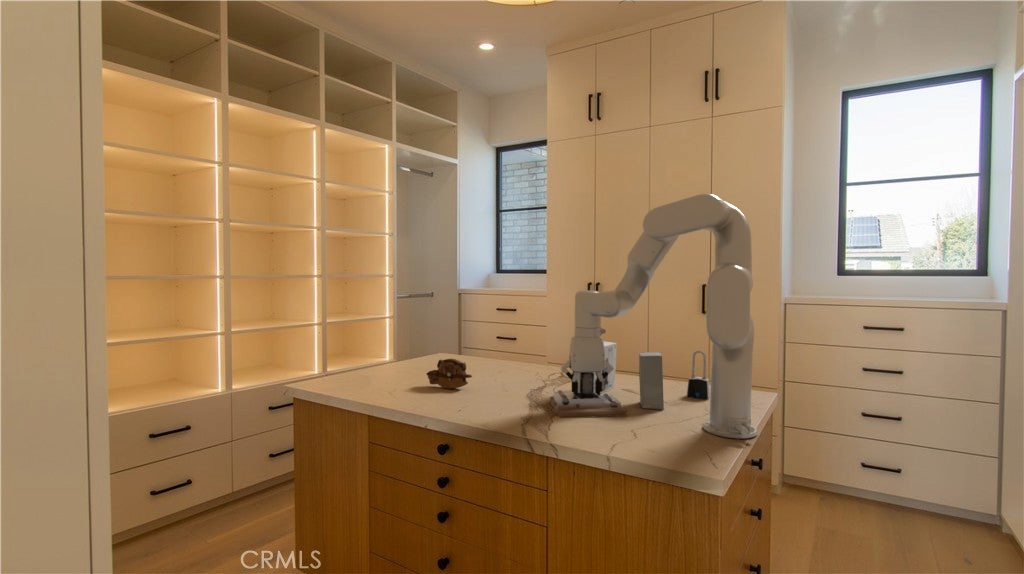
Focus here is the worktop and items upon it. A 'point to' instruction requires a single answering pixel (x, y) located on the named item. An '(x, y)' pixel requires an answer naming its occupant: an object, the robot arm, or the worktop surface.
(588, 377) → the pin
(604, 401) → the grey tray
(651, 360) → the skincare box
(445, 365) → the wooden carving
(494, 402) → the worktop surface
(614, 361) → the skincare box
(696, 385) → the padlock
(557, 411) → the walnut board
